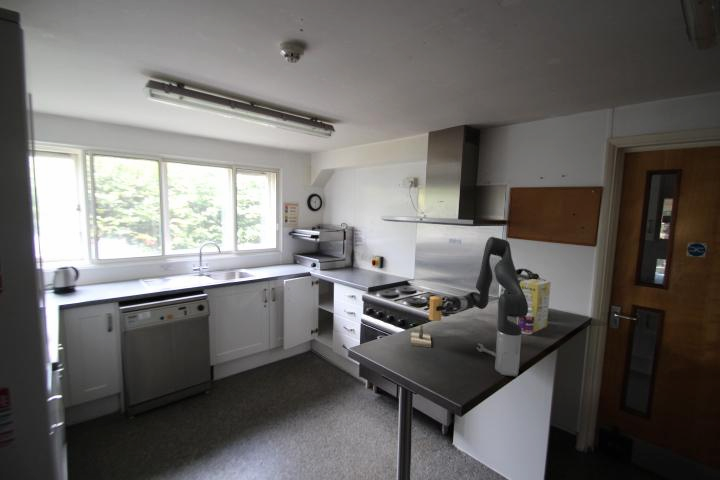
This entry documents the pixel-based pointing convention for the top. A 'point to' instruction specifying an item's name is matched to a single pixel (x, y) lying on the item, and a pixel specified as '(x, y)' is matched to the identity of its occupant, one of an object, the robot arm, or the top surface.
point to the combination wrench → (486, 350)
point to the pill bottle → (527, 322)
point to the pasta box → (537, 300)
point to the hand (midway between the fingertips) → (432, 307)
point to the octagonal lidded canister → (434, 303)
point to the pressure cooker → (522, 278)
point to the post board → (420, 338)
